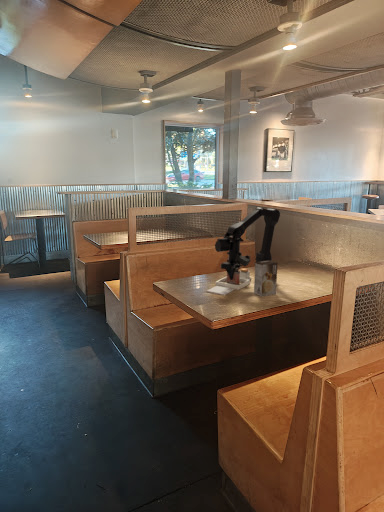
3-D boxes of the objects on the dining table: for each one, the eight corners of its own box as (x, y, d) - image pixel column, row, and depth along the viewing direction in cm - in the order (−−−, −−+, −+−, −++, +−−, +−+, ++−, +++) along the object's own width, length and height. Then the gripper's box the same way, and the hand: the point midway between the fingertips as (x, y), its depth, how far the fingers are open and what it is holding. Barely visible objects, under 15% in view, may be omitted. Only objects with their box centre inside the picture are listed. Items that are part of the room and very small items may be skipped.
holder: (255, 279, 203) (256, 272, 202) (238, 289, 185) (239, 281, 184) (233, 275, 210) (234, 268, 209) (215, 285, 192) (215, 277, 191)
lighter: (240, 285, 192) (241, 267, 190) (237, 286, 190) (237, 268, 188) (228, 282, 198) (229, 264, 196) (224, 283, 195) (225, 265, 193)
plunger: (249, 276, 204) (249, 269, 203) (246, 278, 200) (246, 270, 199) (242, 275, 206) (242, 267, 205) (238, 277, 202) (239, 269, 201)
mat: (233, 290, 184) (233, 289, 184) (224, 295, 176) (224, 294, 175) (216, 286, 189) (216, 285, 189) (206, 291, 181) (206, 290, 181)
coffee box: (267, 290, 184) (269, 259, 181) (276, 294, 179) (278, 262, 175) (253, 293, 180) (254, 261, 176) (261, 296, 174) (263, 264, 171)
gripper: (240, 255, 178) (239, 285, 181) (255, 249, 193) (254, 277, 197) (220, 252, 184) (219, 282, 187) (236, 246, 199) (235, 274, 203)
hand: (233, 278), depth 193 cm, fingers closed on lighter, 3 cm apart
